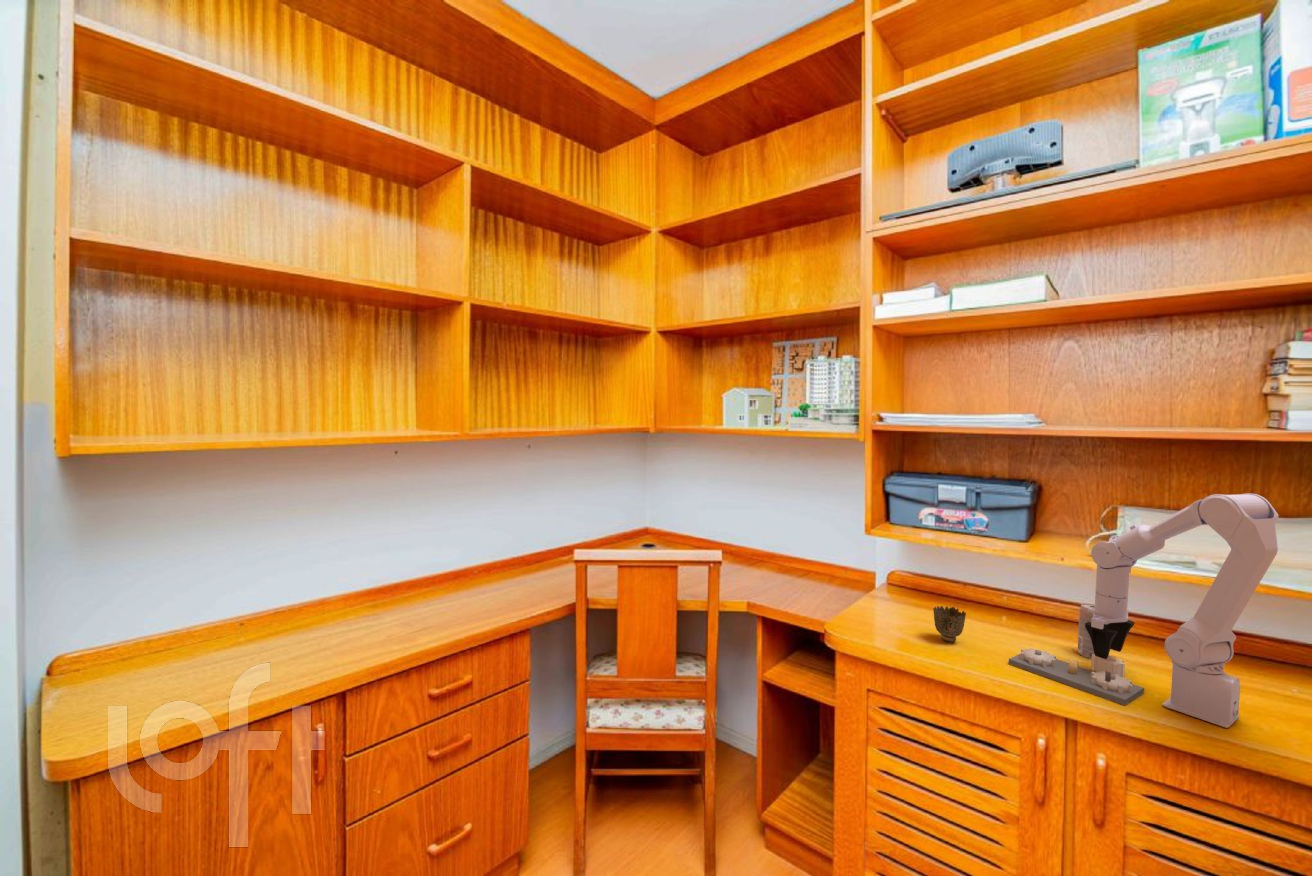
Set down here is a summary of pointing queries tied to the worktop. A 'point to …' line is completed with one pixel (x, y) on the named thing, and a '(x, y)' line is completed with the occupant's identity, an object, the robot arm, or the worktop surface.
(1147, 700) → the worktop surface
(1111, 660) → the loose gear
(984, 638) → the worktop surface
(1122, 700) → the gear board
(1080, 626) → the energy drink
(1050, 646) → the worktop surface
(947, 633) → the cup
